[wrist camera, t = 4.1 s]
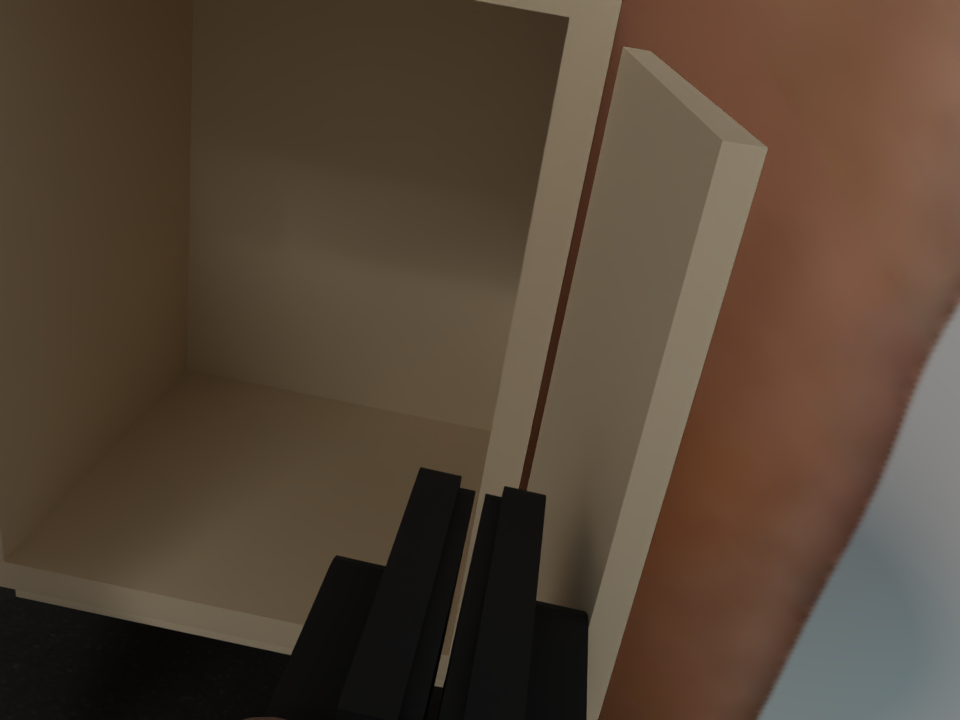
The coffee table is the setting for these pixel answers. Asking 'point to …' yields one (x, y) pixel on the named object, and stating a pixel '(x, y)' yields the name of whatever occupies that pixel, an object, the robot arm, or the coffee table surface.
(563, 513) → the flap
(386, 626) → the robot arm
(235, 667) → the flower pot
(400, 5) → the shipping box
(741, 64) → the coffee table surface
